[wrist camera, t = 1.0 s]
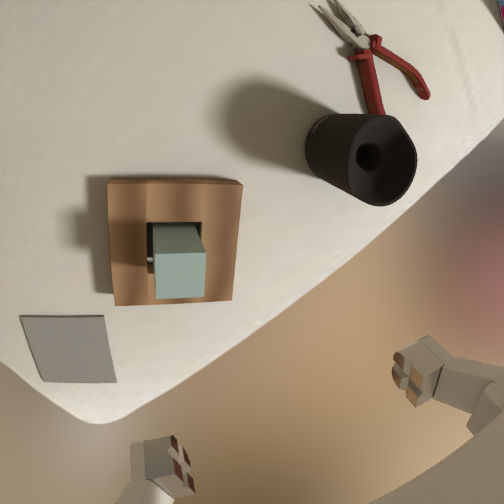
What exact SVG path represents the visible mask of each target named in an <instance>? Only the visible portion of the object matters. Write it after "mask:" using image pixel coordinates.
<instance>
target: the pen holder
mask: <svg viewBox="0 0 504 504" xmlns="http://www.w3.org/2000/svg"><path fill="white" fill-rule="evenodd" d="M305 153H306V159H307V162H308V164H309V166H310V168H311V170H312V171H313V172H314V173H315V174H316V175H317V176H318V177H319V178H321V179H323V180H324V181H326V182H328V183H330V184H331V185H333V186H335V187H337V188H339V189H341V190H343V191H345V192H346V193H348V194H350V195H352V196H354V197H356V198H357V199H359V200H361V201H363V202H365V203H367V204H370V205H373V206H387V205H390V204H392V203H394V202H396V201H397V200H399V199H400V198H401V197H402V196H403V195H404V194H405V193H406V191H407V190H408V188H409V187H410V185H411V183H412V181H413V179H414V176H415V172H416V168H417V152H416V148H415V146H414V144H413V142H412V140H411V138H410V137H409V135H408V134H407V132H406V131H405V129H404V128H403V126H402V125H401V123H400V122H399V121H398V120H397V119H396V118H395V117H393V116H390V115H377V114H332V115H327V116H325V117H323V118H321V119H320V120H318V121H317V122H316V123H315V124H314V125H313V127H312V128H311V130H310V131H309V133H308V136H307V139H306V145H305Z"/></svg>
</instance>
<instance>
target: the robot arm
mask: <svg viewBox="0 0 504 504" xmlns="http://www.w3.org/2000/svg"><path fill="white" fill-rule="evenodd" d="M393 360H394V361H395V364H394V366H393V367H392V377H393V380H394V382H395V384H396V385H397V386H398V388H399V389H402V390H405V391H406V397H407V399H408V400H409V401H410V402H411V403H412V405H413V406H414V407H415V408H416V407H418V406H420V405H421V404H423V403H425V402H426V401H428V400H430V399H431V398H433V399H435V400H437V401H440V402H442V403H445V404H448V405H450V406H452V407H455V408H457V409H460V410H463V411H465V412H468V413H471V414H472V415H471V417H470V419H469V420H468V422H467V426H466V427H467V428H468V429H469V431H471V433H472V434H473V435H474V436H473V437H472V438H471V439H470V440H468V441H467V442H466V443H465V444H463V445H462V446H461V447H460V448H458V449H457V450H455V451H454V452H453V453H451V454H450V455H448V456H447V457H446V458H444V459H443V460H441V461H440V462H439V463H437V464H436V465H434V466H433V467H431V468H430V469H428V470H427V471H425V472H423V473H422V474H420V475H419V476H417V477H416V478H414V479H412V480H411V481H409V482H407V483H406V484H404V485H402V486H401V487H399V488H397V489H395V490H393V491H392V492H390V493H388V494H386V495H384V496H382V497H381V498H379V499H377V500H375V501H373V502H371V503H369V504H504V367H500V366H495V365H491V364H487V363H482V362H478V361H474V360H469V359H465V358H461V357H457V358H454V357H453V356H452V355H451V354H450V353H449V352H448V351H447V350H445V349H444V348H443V347H442V346H441V345H440V344H439V343H438V342H437V341H436V340H434V339H433V338H432V337H431V336H429V335H426V336H424V337H422V338H421V339H419V340H417V341H415V342H413V343H411V344H409V345H407V346H406V347H404V348H402V349H400V350H398V351H397V352H395V354H394V357H393ZM130 450H131V451H130V452H131V453H130V454H131V480H132V482H129V483H128V484H127V485H126V487H125V488H124V490H123V492H122V494H121V495H120V497H119V498H118V500H117V502H116V503H115V504H173V502H174V498H179V497H184V496H189V495H193V494H196V491H195V486H194V481H193V478H192V477H191V476H190V475H189V474H188V473H189V471H190V469H191V465H190V461H189V458H188V455H187V453H186V451H185V449H184V448H183V446H181V445H178V443H177V439H176V438H175V437H174V435H170V436H165V437H160V438H155V439H149V440H143V441H138V442H132V444H131V447H130Z"/></svg>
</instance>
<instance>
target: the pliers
mask: <svg viewBox="0 0 504 504" xmlns="http://www.w3.org/2000/svg"><path fill="white" fill-rule="evenodd" d="M333 2H334V3H335V5H336V7H337V9H338V11H339V13H340V15H341V16H342V18H343V20H344V22H345V24H344V23H343V22H342V21H341V20H339V19H338V18H337V17H335V16H334V15H333V14H331V13H330V12H328V11H327V10H326V9H324V8H323V7H321V6H320V5H319V6H318V7H319V8H320V10H321V11H322V12H323V13H324V15H325V16H326V17H327V19H328V20H329V21H330V22H331V24H332V25H333V26H334V28H335V29H336V30H337V32H338V33H339V35H340V36H341V37H342V38H343V39H344V40H345V41H346V42H347V43H351V44H352V46H353V48H354V50H355V51H354V54H355V55H351V56H348V59H349V61H350V60H357V64H358V68H359V72H360V76H361V80H362V85H363V89H364V94H365V99H366V103H367V107H368V110H369V113H370V114H377V115H386V113H385V110H384V107H383V103H382V99H381V94H380V89H379V84H378V79H377V75H376V70H375V66H374V62H373V55H375V56H377V57H379V58H380V59H382V60H384V61H386V62H387V63H389V64H391V65H392V66H394V67H395V68H397V69H399V70H400V71H402V72H403V73H404V74H405V75H406V76H407V77H408V78H409V79H410V80H411V82H412V83H413V85H414V87H415V89H416V90H417V92H418V94H419V96H420V98H421V99H423V100H428V99H429V98H430V91H429V89H428V87H427V85H426V83H425V81H424V79H423V78H422V76H421V74H420V73H419V72H418V71H417V70H416V69H415V68H414V67H413V66H412V65H411V64H409V63H408V62H406V61H405V60H403V59H402V58H400V57H399V56H397V55H396V54H394V53H392V52H391V51H389V50H388V49H386V48H384V47H383V46H381V42H382V37H380V36H379V35H377V34H374V35H370V36H369V38H368V37H367V36H365V35H363V34H365V33H366V32H365V30H364V29H363V27H362V26H361V24H360V23H359V22H358V21H357V20H356V19H355V18H354V17H353V15H352V14H351V13H350V12H349V11H348V10H347V9H346V8H345V7H344V6H343V5H342V4H341V3H340V2H339V1H338V0H333ZM350 28H352V29H353V30H354V32H355V34H354V33H352V32H351V31H350V30H351V29H350ZM372 54H373V55H372Z"/></svg>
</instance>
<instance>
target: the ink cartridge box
mask: <svg viewBox="0 0 504 504" xmlns="http://www.w3.org/2000/svg"><path fill="white" fill-rule="evenodd" d="M497 1H498V5H499V9H500V13H501V17H502V22H503V27H504V0H497Z"/></svg>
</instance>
